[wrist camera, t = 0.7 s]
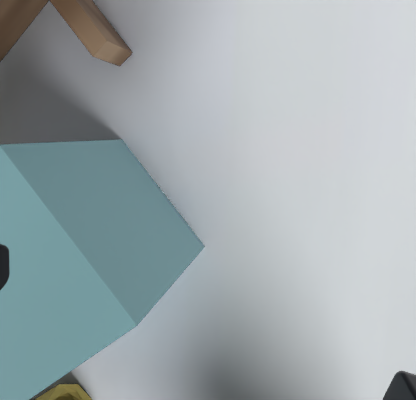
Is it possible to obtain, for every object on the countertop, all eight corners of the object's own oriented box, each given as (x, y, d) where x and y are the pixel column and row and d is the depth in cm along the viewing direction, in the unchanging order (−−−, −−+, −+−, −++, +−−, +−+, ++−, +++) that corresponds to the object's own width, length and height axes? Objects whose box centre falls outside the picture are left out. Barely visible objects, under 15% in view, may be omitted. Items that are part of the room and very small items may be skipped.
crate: (205, 246, 23) (137, 325, 14) (89, 330, 27) (-27, 437, 18) (122, 139, 23) (-2, 144, 14) (19, 238, 27) (-134, 295, 18)
